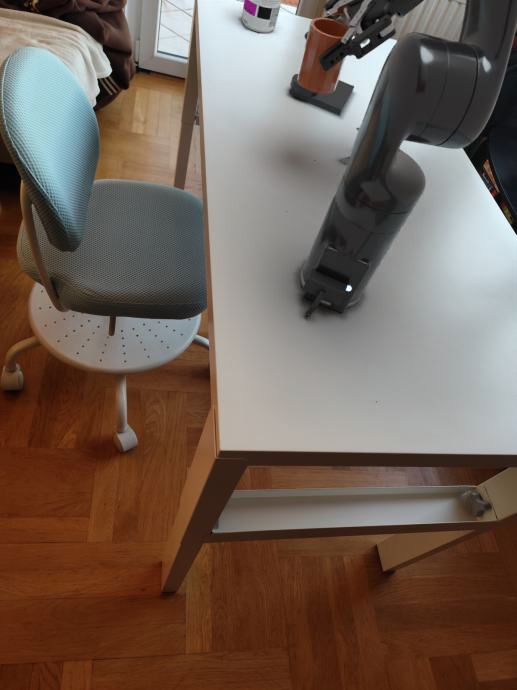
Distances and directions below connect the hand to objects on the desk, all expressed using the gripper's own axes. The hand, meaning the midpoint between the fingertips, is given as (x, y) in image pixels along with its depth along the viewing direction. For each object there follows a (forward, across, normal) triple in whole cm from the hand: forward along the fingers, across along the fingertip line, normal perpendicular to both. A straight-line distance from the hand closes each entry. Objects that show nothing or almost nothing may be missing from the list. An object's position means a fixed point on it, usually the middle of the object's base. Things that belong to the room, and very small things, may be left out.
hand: (314, 53), depth 72 cm
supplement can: (+8, +51, -17) cm, 55 cm away
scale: (+3, +23, -23) cm, 33 cm away
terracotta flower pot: (+2, 0, -4) cm, 5 cm away
